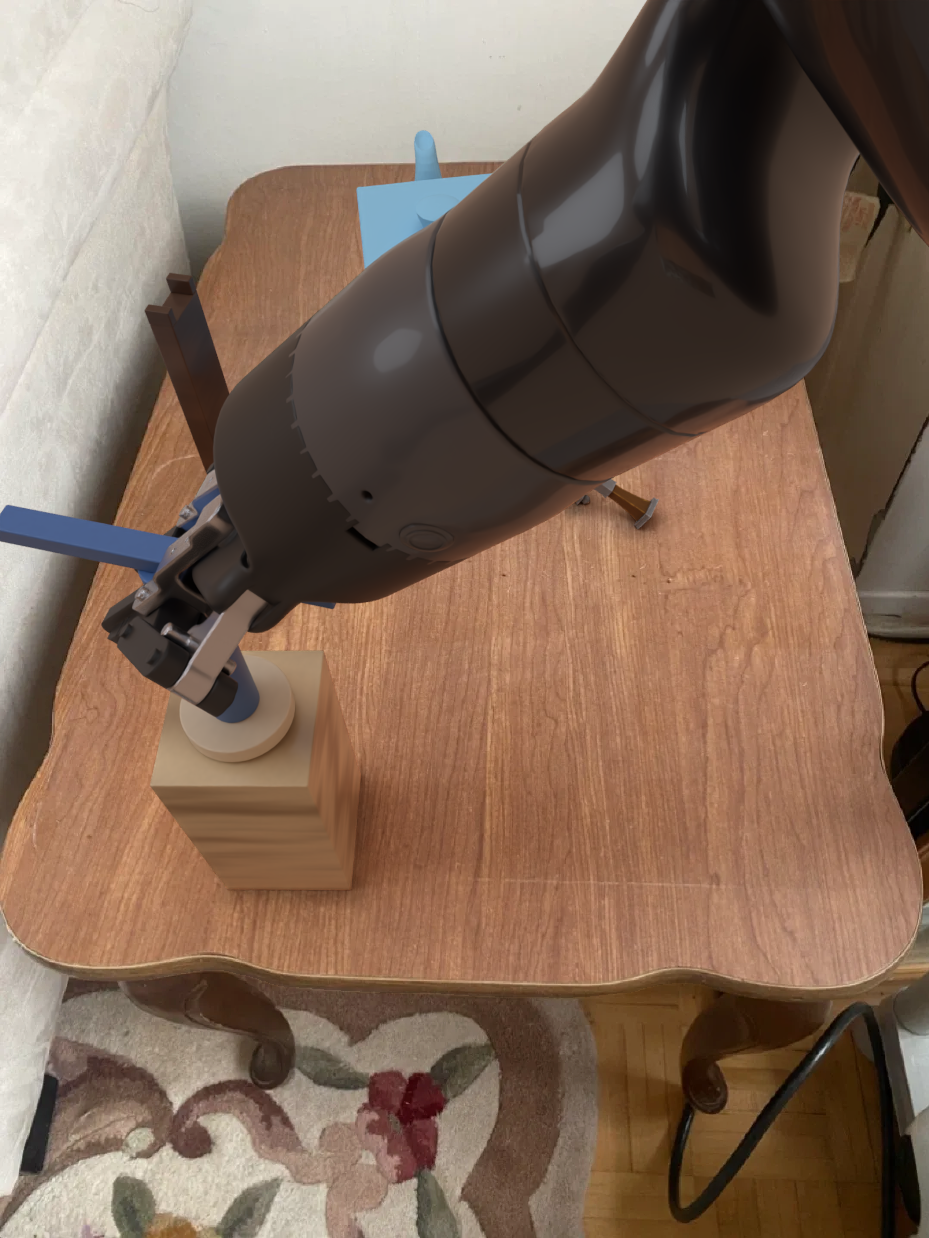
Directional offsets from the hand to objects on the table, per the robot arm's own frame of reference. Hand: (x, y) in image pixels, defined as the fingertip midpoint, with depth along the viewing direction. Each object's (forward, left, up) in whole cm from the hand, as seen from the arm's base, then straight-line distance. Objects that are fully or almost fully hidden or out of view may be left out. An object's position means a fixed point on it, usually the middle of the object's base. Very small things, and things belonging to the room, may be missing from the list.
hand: (142, 604), depth 37 cm
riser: (+1, -2, -22) cm, 22 cm away
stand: (+18, +17, -22) cm, 33 cm away
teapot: (+36, +21, -22) cm, 48 cm away
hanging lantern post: (+31, +1, -22) cm, 38 cm away
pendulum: (+1, -2, -8) cm, 8 cm away
